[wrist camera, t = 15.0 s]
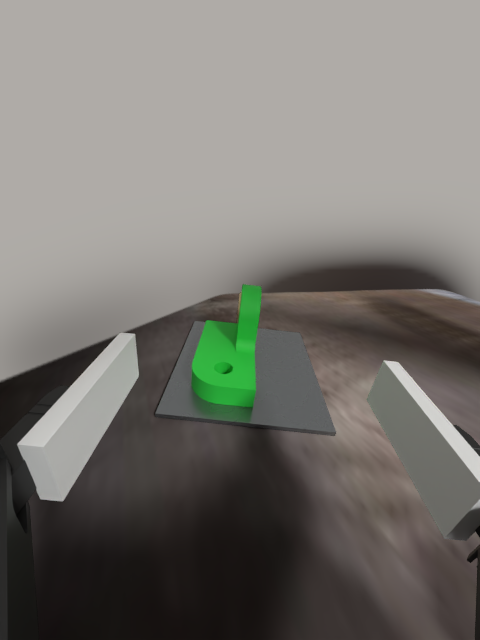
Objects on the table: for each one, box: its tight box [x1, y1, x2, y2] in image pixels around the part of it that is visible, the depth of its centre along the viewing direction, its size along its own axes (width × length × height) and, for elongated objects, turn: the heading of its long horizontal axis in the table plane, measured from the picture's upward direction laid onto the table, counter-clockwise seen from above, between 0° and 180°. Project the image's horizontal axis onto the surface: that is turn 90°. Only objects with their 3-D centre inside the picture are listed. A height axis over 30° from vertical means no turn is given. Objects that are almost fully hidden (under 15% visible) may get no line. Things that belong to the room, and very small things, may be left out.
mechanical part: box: [191, 284, 261, 407], centre depth 26 cm, size 12×6×8 cm, turn 178°
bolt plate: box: [155, 292, 336, 436], centre depth 28 cm, size 15×17×6 cm
